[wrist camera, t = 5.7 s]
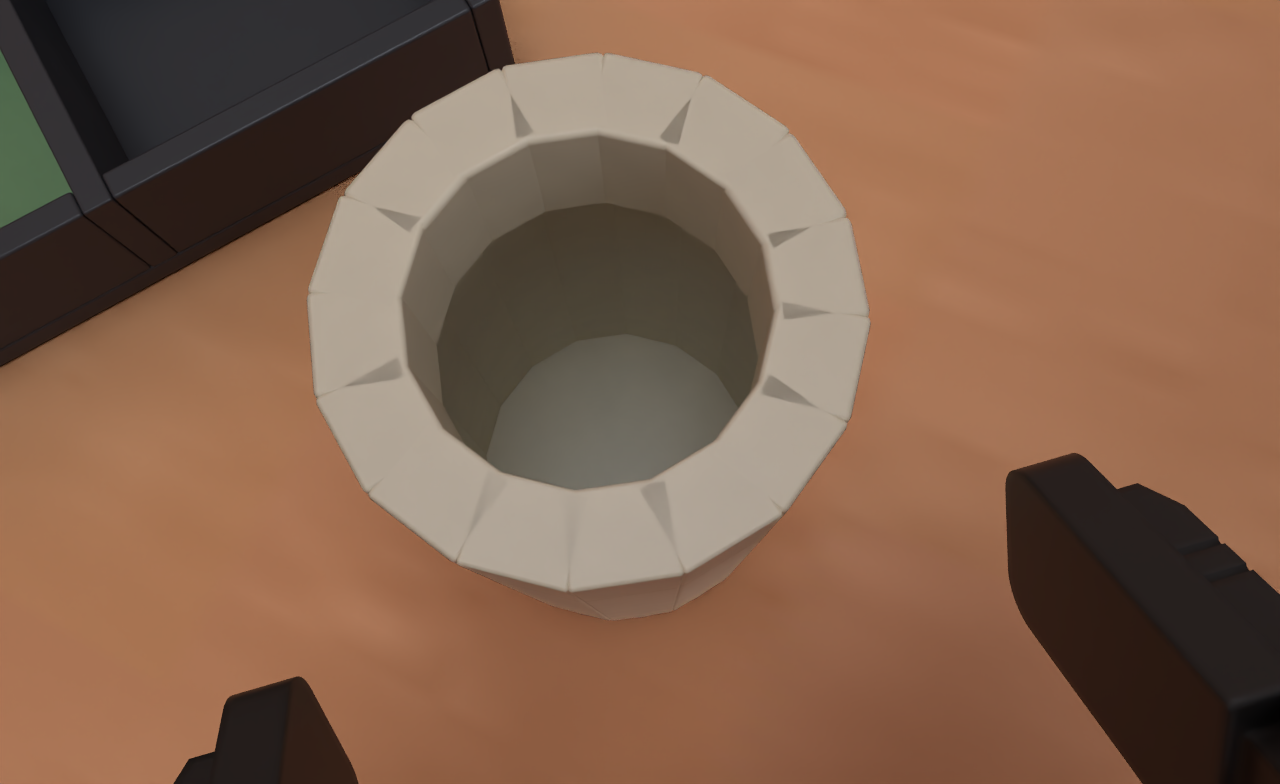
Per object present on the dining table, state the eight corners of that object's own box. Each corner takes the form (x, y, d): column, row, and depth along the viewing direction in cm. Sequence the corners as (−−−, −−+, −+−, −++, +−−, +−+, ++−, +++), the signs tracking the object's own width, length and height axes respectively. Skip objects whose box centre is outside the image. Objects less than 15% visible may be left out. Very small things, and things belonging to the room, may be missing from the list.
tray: (342, -195, 26) (296, -320, 22) (521, 85, 24) (498, -6, 21) (-329, 140, 24) (-487, 58, 21) (-193, 472, 22) (-343, 440, 19)
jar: (670, 273, 23) (679, -34, 13) (827, 517, 22) (979, 395, 11) (419, 417, 22) (215, 217, 12) (565, 678, 21) (475, 703, 11)
